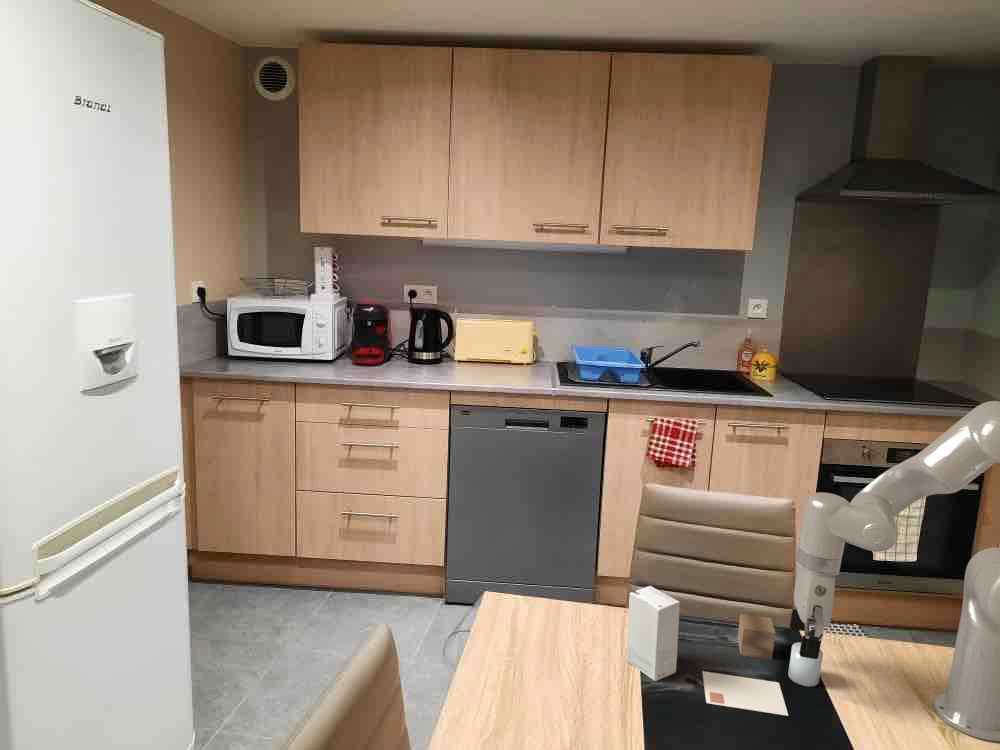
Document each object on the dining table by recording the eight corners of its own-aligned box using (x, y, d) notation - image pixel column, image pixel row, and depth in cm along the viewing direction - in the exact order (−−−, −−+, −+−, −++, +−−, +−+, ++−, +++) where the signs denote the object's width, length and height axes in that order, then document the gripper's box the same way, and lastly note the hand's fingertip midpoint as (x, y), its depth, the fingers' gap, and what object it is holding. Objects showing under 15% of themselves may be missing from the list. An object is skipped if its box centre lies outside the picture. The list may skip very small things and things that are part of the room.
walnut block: (767, 644, 155) (770, 618, 154) (771, 660, 149) (775, 633, 148) (737, 640, 156) (740, 613, 155) (740, 656, 151) (743, 628, 149)
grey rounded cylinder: (815, 672, 146) (819, 644, 145) (821, 689, 141) (826, 660, 139) (785, 668, 147) (789, 640, 146) (790, 684, 142) (794, 656, 140)
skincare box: (676, 674, 143) (683, 602, 140) (653, 683, 140) (660, 610, 137) (645, 652, 150) (651, 583, 147) (622, 660, 147) (629, 590, 144)
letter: (778, 683, 142) (778, 682, 142) (788, 716, 132) (788, 715, 132) (702, 672, 144) (702, 671, 144) (706, 703, 135) (706, 702, 135)
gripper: (852, 584, 130) (834, 672, 134) (829, 543, 147) (814, 623, 150) (806, 577, 131) (790, 665, 135) (788, 537, 148) (774, 616, 152)
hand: (803, 642), depth 143 cm, fingers open, 9 cm apart
